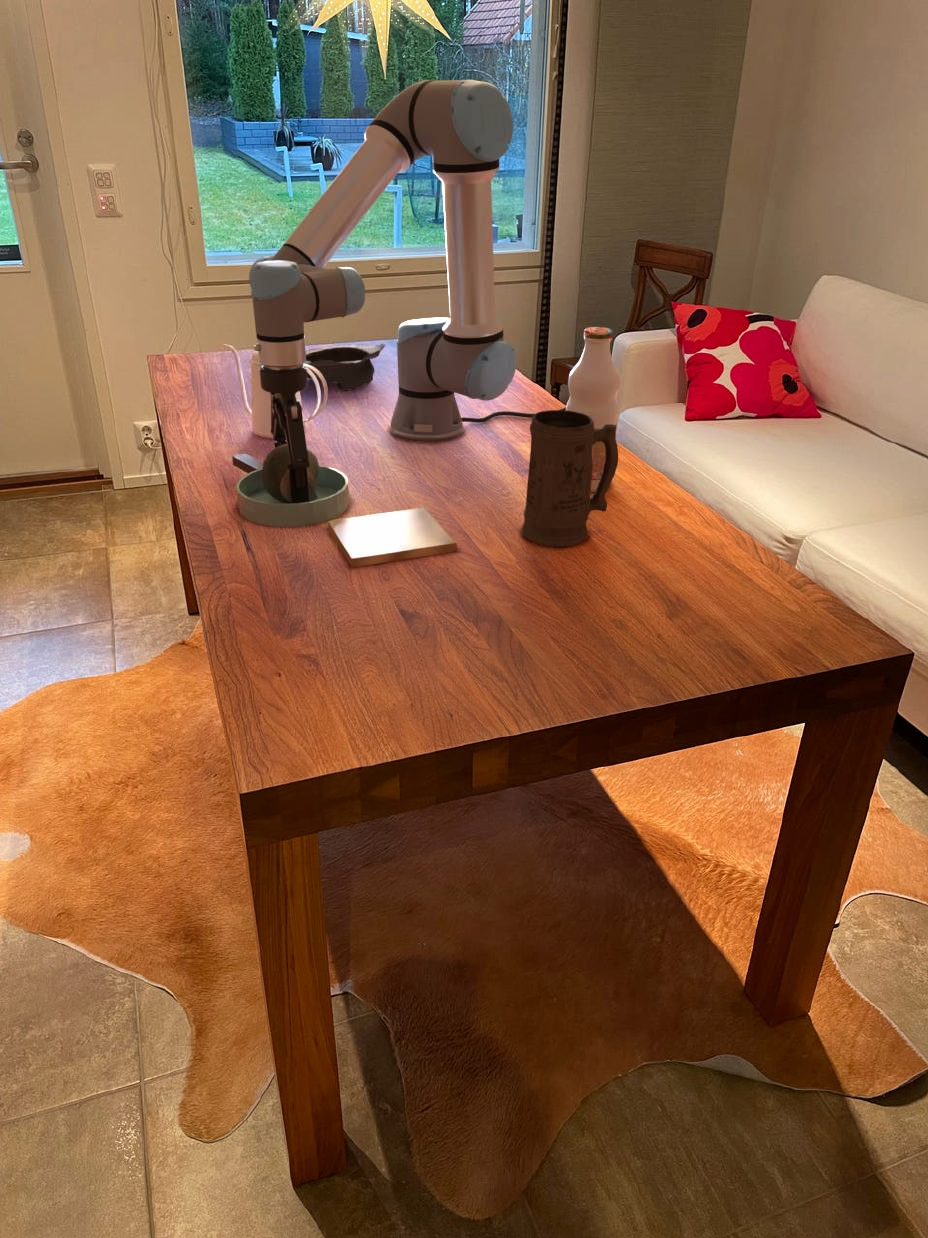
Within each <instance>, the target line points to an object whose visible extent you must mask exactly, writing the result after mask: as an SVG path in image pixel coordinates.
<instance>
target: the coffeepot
mask: <svg viewBox="0 0 928 1238" xmlns="http://www.w3.org/2000/svg"><path fill="white" fill-rule="evenodd" d="M217 347H218V348H222V349H227V350H229V351H230V352H231V353H232V354H233V356H234V358H235V363H236V369H237V370H236V371H237V374H238V375H237V376H238V381H239V387H240V392H241V399H242V403H243V407H244V410H245V411H246V413H247V414H248V415H250V416H251V427H252V431H253V433H254V434H255V435H257V436H259V437H262V438H266V439H273V435H272V433H271V395H270V393H269V392H266V391H264V390H263V389H262V388H261V382H260V372H259V368H260V366H261V365H262V364H261V363H260V362H259V357H258V351H255V350H254V351H253V352H252V353H251V357H250V358H249V360H248V361H249V364H250V388H251V394H250V395H251V408H250V406H249V402H248V398H247V392H246V387H245V381H244V374H243V370H242V369H243V368H242V364H241V358H240V355H239V353H238V350H236V348H234V346H232V345H230V344H226V343H222V344H220V345H218V346H217ZM304 365H305V366H306V370H307V372H308V374H309V375H310V376H311V377H312V379H311V380H312V382H314V386H315V389H316V404H315V407H314V410H313V411H312V413H311V415H310V416H309V417H308V418H306V419H305V416H304V409H303V404H302V403H303V402H302V396H301V391H298V392H297V393H296V394H295V397H296V401H299V403H300V405H301V407H302V417H303V425H304V429H305V427H306V423H307V422H309V421H311V420H313V419H315V418H316V417H317V416H318V415H320V414H321V412H322V411H323V410H324V408H325V407H326V403H327V400H328V397H329V396H328V394H329V390H328V384H327V381H326V380H325V379H324V377H323V375H322V374H321V373H320V372H319V370H317V369H316V368H314V367H313V366H310V365H308V364H304ZM310 369H311V370H313V371H314V372H315V373H316V374H317V375H318V376H319V378H320V379H321V380H320V382H321V384H322V386H323V400H322V394H321V387H320V382H319V380H317V378H316V376H315V375H314V373H313V372H312V371H311V370H310ZM321 400H322V403H321ZM320 405H321V406H320ZM273 440H274V439H273Z"/></svg>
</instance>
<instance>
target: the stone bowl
mask: <svg viewBox="0 0 928 1238" xmlns="http://www.w3.org/2000/svg"><path fill="white" fill-rule="evenodd" d="M385 347H386V344H384V343H381V344H376V345H375V346H372V345H370V344H369V345H367V344H366V345H365V344H364V345H361V344H348V345H347V344H346V345H330V346H322V347H320V346H319V347H315V348H310V349H307V350H306V349H305V351H306V361H305V362H304V363H303V364H308V365H310V366H313V367H314V368H316V369H317V370H319V372H320V373H321V374H322V375H323V377H324V379H325V381H326V382H328V383H336V387H337V389H338V390H339V391H342V392H347V391H350V390H351V391H353V390H356V389H359V388H363V387H364V386H365V385H368V384H370V383H371V382H372V381H373V380H374V374H375V372H376V371H375V366H374V364H373V362H372V360H373V359H376V358H378V357H379V356H380V354H381V352H382V351H383V349H384V348H385ZM310 370H311V369H310ZM311 371H312V372H313V373H314V375H315V376H316V378H317V380H318V381H321V379H320V378H319V376H318V375H317V374H316V373H315V372H314V371H313V370H311ZM307 379H309V380H313V379H312V377H311V376H310V375H309V374H308V372H307Z"/></svg>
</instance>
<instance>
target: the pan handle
mask: <svg viewBox="0 0 928 1238" xmlns="http://www.w3.org/2000/svg"><path fill="white" fill-rule="evenodd" d="M231 458H232V466H234V467H236V468H237V469H239V470H241V471H243V472H245V473H246V474H248V473H250V472H253V471H256V470H258V469H261V468H263V463H264V462H262V461H260V460H258V459H257V458H254V457H253V456H251V455H249V454H247V453H240V454H235V455H232V456H231Z"/></svg>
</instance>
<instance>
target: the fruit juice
mask: <svg viewBox="0 0 928 1238" xmlns="http://www.w3.org/2000/svg"><path fill="white" fill-rule="evenodd" d="M613 331H614V330H613V329H611V328H609V327H603V326H591V327H590V326H589V327H586V328H585V329H584V331H583V339H584V348H583V351H582V354H581V357H580V358H579V360H578V361H577V363H576V364H575V365H574V366H573V368H572V369H571V371H570V372H569V375H568V380H567V387H568V391H569V398H568V400H567V402H566V406H565V407H566V411H574V412H578V413H583V414H585V415H588V416H589V417H591V418H592V419H593V421H594V429H595V430H597V429H601V428H603V426H604V425H605V424H613V425H616V430H617V429H618V428H617V427H618V420H619V407H618V403H617V397H618V393H619V390H620V388H621V375H620V372H619V371H618V369H617V368H616V366H615V364H614V362H613V359H612V354H611V353H612V352H611V342H612V341H613V338H614V332H613ZM615 436H617V431H616V432H615ZM605 450H606V449H605V445H604V443H603V442H601V441H600V442H596V443H595V444H594V445H593V446H592V462H593V468H592V481H591V491H590V493H591V492H592V493H595V491H596V488H597V486H598V484H599V481H600V478H601V475H602V472H603V468H604V463H605Z"/></svg>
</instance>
